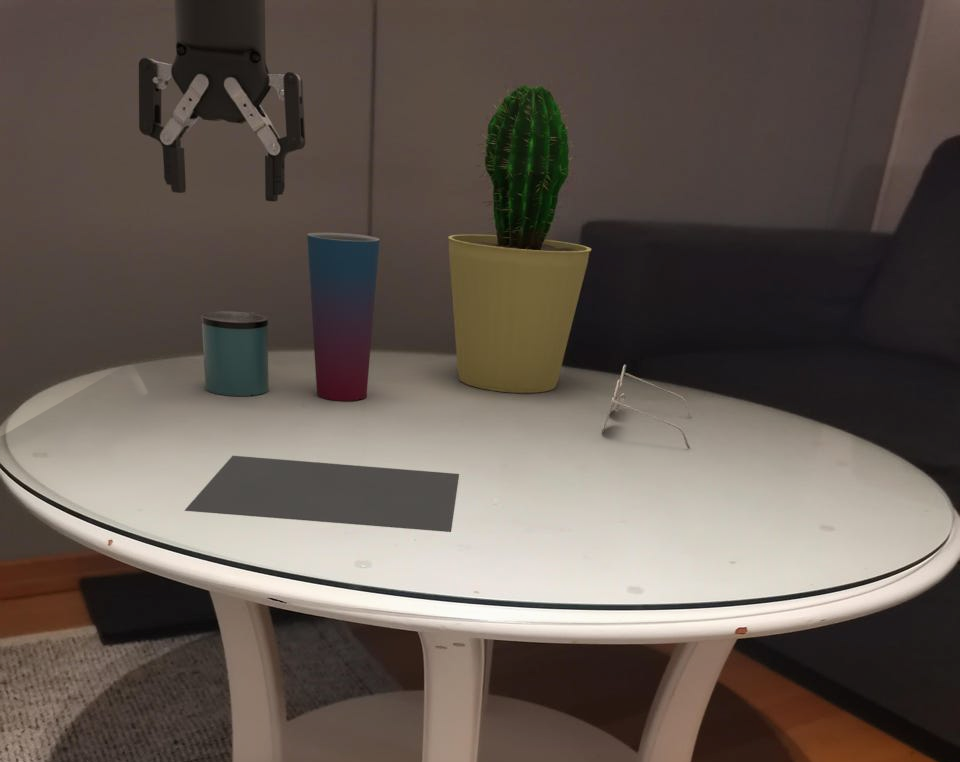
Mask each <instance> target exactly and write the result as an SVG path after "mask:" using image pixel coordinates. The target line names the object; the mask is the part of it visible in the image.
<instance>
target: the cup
mask: <svg viewBox="0 0 960 762" xmlns="http://www.w3.org/2000/svg"><path fill="white" fill-rule="evenodd" d="M306 236H307V237H306V238H307V239H306V240H307V254H308V255H307V256H308V267H309V268H308V270H309V285H310V302H311V303H310V305H311V321H312V335H313V337H312V338H313V351H314V368H315V383H316V385H315V386H316V387H315V388H316V395H317V396H318V397H320V398H321V399H325V400H330V401H336V402H354V401H360V400H359V399H361V400H364V399H365V397H366V398H367V397H368V384H369V383H368V382H369V372H370V370H369V369H370V360H371V359H370V358H371V348H372V347H371V346H372V337H373V336H372V335H373V334H372V333H373V325H374V311H375V300H376V299H375V298H376V287H377V276H378V275H377V274H378V264H379V263H378V262H379V253H380V251H379V249H380V238H378V237H375V236H370V235H364V234H356V233H355V234H354V233H344V232H309V233H307V235H306ZM363 398H364V399H363Z"/></svg>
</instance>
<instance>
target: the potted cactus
mask: <svg viewBox="0 0 960 762" xmlns="http://www.w3.org/2000/svg"><path fill="white" fill-rule="evenodd" d="M515 80H516V83H518V81H517V79H515ZM513 84H514V85H513V86H514V87H513V88H514V89H515V90H514V91H512V92H511V93H510V92H509V89H508V87H507V86H506V85H505V88H506V92H507V95H508V96H506V97H504V98H502V97H501V95H500V94H498V95H497V99H498V101H499V103H500V105H499V106H496V105H495V104H494V103H492V105H494V107H495V108H497V109H496V112H495V113H494V114H493V113H491V112H490V111H488V110H487V111H488V113H489V115H491V118H490V117H489V115H488V114H486V115H487V116H486V115H485V118H486V119H485V118H484V121H485V122H486V123H487V124H488V125H487V132H485V131H483V133H479V132H478V134H479V135H480V136H482V137H483V138H486V139H485V141H484V143H479V145H481V146H477V147H478V148H482V149H485V150H478V152H479V153H480V152H481V154H482V155H481V154H480V155H479V156H478V157H484V162H483V163H479V164H477V165H476V168H479V167H482V166H483V168H481V170H483V171H484V172H483V173H482V174H481V175H480V177H483V178H485V179H487V178H488V179H487V180H486V182H487V181H489V180H490V181H491V182H490V183H489V186H487V189H488V190H490V188H491V187H492V189H493V190H492V199H491V200H489V201H484V202H481V203H485V204H486V205H485V207H486V208H487V207H488V206H491V205H492V203H493V208H492V209H493V218H489V219H488V220H494V222H491V223H490V224H489V225H490V226H491V225H493V224H494V227H495V228H494V229H492V230H491V231H490V232H487V234H453V235H449V236H448V237H447V238H448V257H449V258H448V259H449V267H450V268H449V271H450V281H451V295H452V309H453V323H454V325H453V326H454V336H455V337H454V339H455V350H456V353H455V354H456V365H457V366H456V367H457V374H458V375H457V376H458V380H459V381H461V382H462V383H463V384H466V385H468V386H472V387H474V388H478V389H483V390H487V391H493V392H501V393H512V394H514V393H516V394H517V393H519V394H531V393H532V394H535V393H544V392H548V391H552V390H554V389H556V388H557V385H558V382H559V377H560V374H561V369H562V365H563V361H564V358H565V353H566V349H567V345H568V341H569V337H570V333H571V330H572V326H573V321H574V318H575V317H574V316H575V314H576V309H577V306H578V302H579V298H580V294H581V290H582V287H583V282H584V279H585V275H586V271H587V267H588V263H589V258H590V253H591V252H592V248H591V247H588V246H586V245H582V244H577V243H572V242H566V241H558V240H552V239H548V238H547V236H549V234H548V233H549V232H550V233H551V234H553V235H554V236H555V237H557V235H556V234H554V233H555V232H556V233H557V231H555V229H553V228H551V226H553V227H556V228H557V226H555V225H554V224H553V222H557V223H560V224H561V222H558V221H557V220H556V219H554V218H560V217H559V216H556V215H555V214H556V213H557V211H556V209H558V208H559V209H562V207H561V206H559V205H558V201H559V198H561V197H564V196H563V195H566V197H567V198H569V196H568V195H567V194H566V193H567V189H566V188H565V187H564V186H563V185H564V183H565V182H568V180H567V179H569V180H570V181H572V182H574V180H572V179H573V177H571V176H570V175H572V176H574V173H573V172H571V173H570V172H569V171H570V169H569V163H570V162H571V161H572V160H573V159H574V158H576V157H578V155H577V156H576V155H575V156H573V157H570V158H569V153H570V150H569V147H570V148H573V147H576V146H577V144H575V143H573V142H574V141H575V142H576V140H577V139H574V140H572V141H569V140H568V139H569V137H568V133H569V132H570V130H567V129H568V128H570V126H572V125H573V123H571V124H570V125H567V127H566V123H565V122H564V121H563V120H562V119H564V118H565V117H567V116H569V115H573V114H574V113H570V114H569V113H566V114H562V112H564V111H566V110H568V109H569V107H568V106H567V107H565V108H564V107H563V104H558V103H557V102H556V100H557V99H558V97H555V99H554V93H555V91H556V90H553V91H550V89H552V88H553V86H550V84H547V86H546V87H547V88H544V86H542V85H539V86H538V85H537V83H535V84H536V87H535V85H532V87H530V86H529V85H527V84H523V85H520V87H517V85H515V83H513ZM498 96H499V97H498ZM502 99H503V100H502ZM562 108H563V109H562ZM484 134H485V135H487V136H485V135H484ZM571 143H573V144H571ZM569 144H570V145H569ZM483 154H484V155H483ZM568 185H570V183H568ZM560 191H562V192H563V193H562V192H560ZM565 192H566V193H565ZM560 196H561V197H560ZM487 203H489V204H488V205H487ZM494 230H496V231H495V232H496V235H495V234H494V235H493V234H491V233H492V232H494ZM553 232H554V233H553ZM488 233H490V234H488Z"/></svg>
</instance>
